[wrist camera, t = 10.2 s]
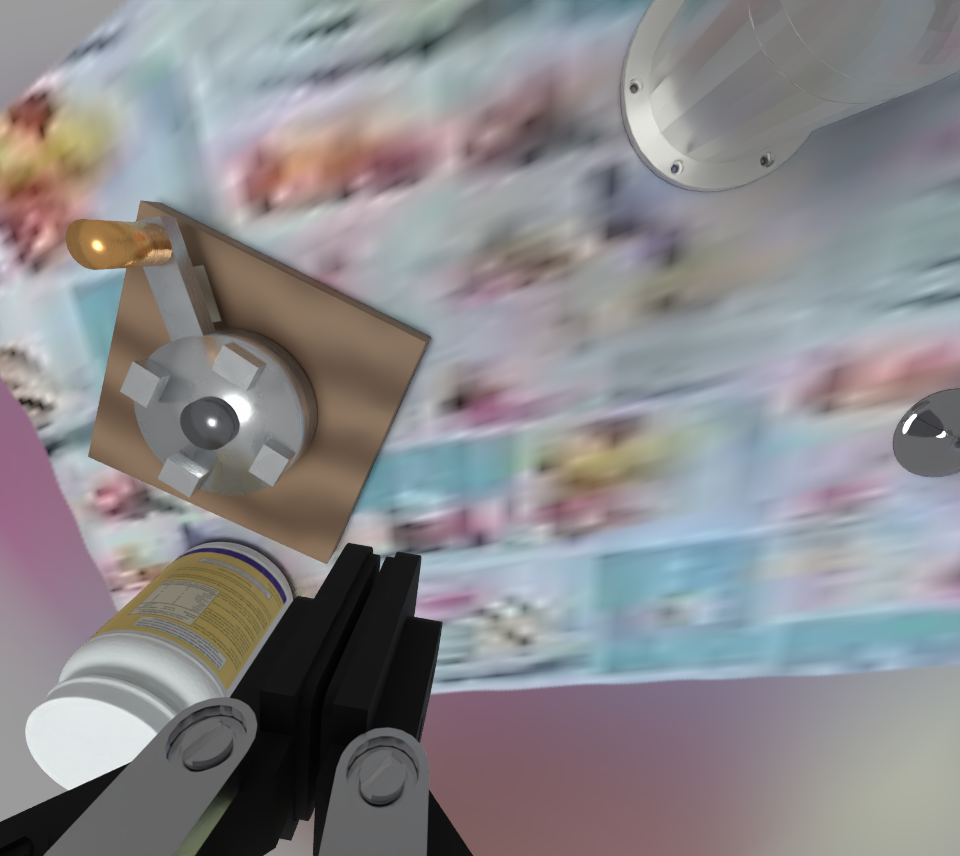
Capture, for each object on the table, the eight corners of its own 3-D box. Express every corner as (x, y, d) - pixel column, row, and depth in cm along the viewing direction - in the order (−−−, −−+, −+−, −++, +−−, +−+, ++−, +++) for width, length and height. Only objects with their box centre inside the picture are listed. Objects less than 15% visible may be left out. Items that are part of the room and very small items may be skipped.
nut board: (160, 202, 37) (138, 200, 35) (430, 337, 39) (425, 343, 36) (106, 447, 44) (86, 457, 42) (334, 551, 46) (325, 565, 44)
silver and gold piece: (335, 464, 40) (289, 517, 33) (201, 482, 42) (126, 537, 34) (257, 204, 34) (176, 193, 26) (103, 238, 36) (-17, 237, 28)
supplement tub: (164, 533, 47) (-18, 679, 31) (289, 537, 46) (166, 690, 30) (191, 636, 51) (43, 811, 36) (306, 643, 50) (206, 825, 35)
